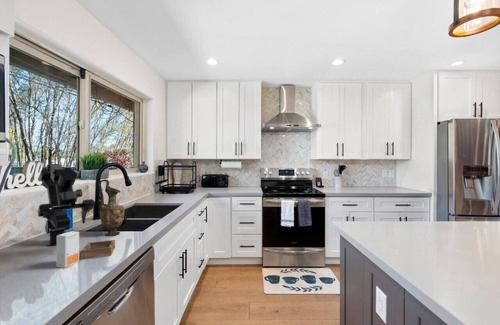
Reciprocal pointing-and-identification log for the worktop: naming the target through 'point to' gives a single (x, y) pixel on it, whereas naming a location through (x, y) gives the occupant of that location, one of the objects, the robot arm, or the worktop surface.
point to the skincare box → (67, 249)
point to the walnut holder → (98, 249)
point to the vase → (110, 210)
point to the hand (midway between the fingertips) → (70, 225)
